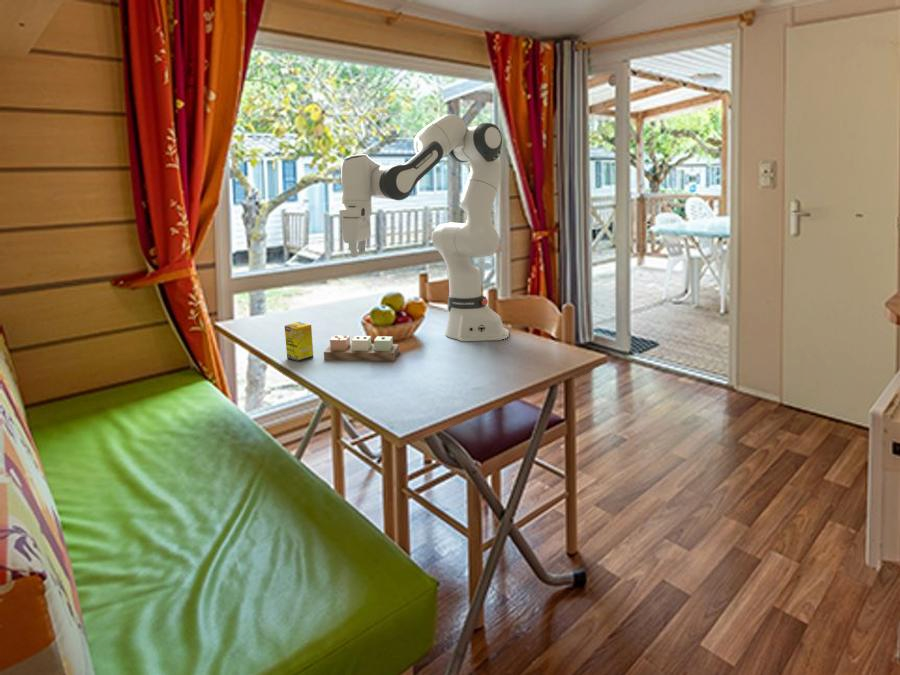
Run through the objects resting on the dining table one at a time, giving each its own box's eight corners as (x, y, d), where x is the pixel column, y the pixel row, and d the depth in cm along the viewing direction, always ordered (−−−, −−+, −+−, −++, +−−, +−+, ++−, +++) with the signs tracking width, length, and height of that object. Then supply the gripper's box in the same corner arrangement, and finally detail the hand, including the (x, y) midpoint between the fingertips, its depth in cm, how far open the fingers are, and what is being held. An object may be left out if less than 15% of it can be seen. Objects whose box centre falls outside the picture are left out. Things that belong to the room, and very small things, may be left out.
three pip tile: (350, 347, 202) (349, 334, 201) (346, 352, 197) (345, 339, 196) (335, 347, 202) (334, 334, 201) (330, 352, 198) (329, 338, 196)
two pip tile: (371, 348, 201) (370, 335, 200) (368, 352, 196) (367, 339, 195) (356, 347, 202) (355, 335, 201) (352, 352, 197) (351, 339, 196)
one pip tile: (393, 348, 201) (392, 335, 199) (390, 353, 196) (389, 339, 195) (377, 348, 201) (377, 335, 200) (374, 352, 196) (373, 339, 195)
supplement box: (286, 359, 197) (283, 325, 194) (301, 354, 202) (299, 321, 199) (298, 362, 194) (296, 328, 191) (313, 357, 198) (311, 324, 195)
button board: (399, 351, 203) (398, 344, 203) (393, 361, 194) (393, 353, 193) (332, 350, 205) (332, 343, 205) (324, 359, 196) (323, 352, 195)
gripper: (355, 207, 200) (356, 251, 204) (337, 211, 181) (339, 259, 184) (374, 207, 200) (375, 251, 203) (359, 211, 180) (360, 259, 184)
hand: (358, 255), depth 194 cm, fingers open, 8 cm apart
